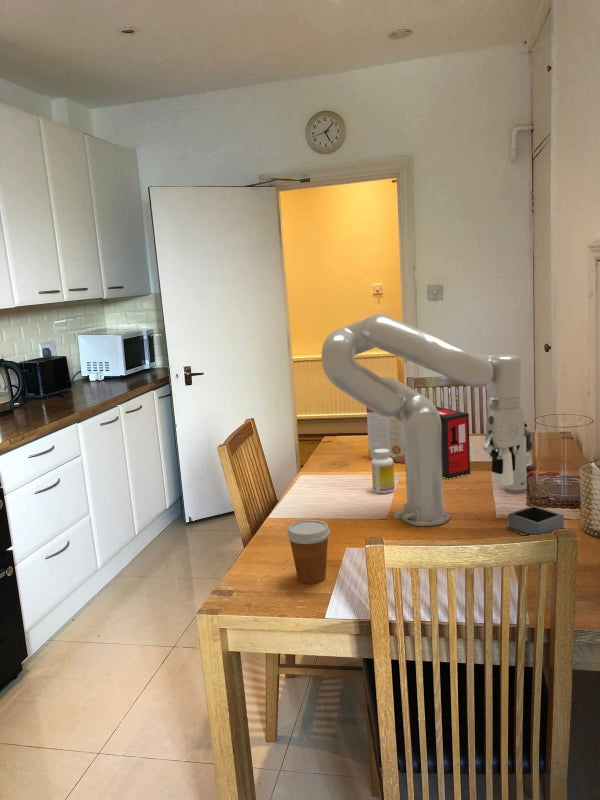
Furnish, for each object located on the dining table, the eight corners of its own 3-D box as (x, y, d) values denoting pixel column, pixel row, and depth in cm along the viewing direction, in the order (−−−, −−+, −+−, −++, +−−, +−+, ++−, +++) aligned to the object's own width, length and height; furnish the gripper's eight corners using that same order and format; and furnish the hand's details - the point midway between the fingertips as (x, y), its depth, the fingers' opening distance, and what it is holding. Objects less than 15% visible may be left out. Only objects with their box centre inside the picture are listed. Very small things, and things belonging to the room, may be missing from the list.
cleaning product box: (417, 467, 226) (414, 410, 222) (438, 463, 229) (436, 406, 226) (448, 479, 211) (446, 418, 207) (470, 474, 215) (468, 413, 211)
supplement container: (532, 473, 211) (532, 436, 209) (497, 472, 215) (497, 436, 213) (534, 464, 220) (533, 429, 218) (501, 463, 224) (500, 428, 222)
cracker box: (411, 459, 237) (409, 401, 233) (404, 463, 232) (402, 404, 228) (376, 455, 244) (373, 400, 240) (368, 460, 239) (365, 403, 235)
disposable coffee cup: (284, 585, 146) (279, 533, 144) (299, 566, 155) (295, 517, 153) (325, 589, 143) (321, 536, 140) (338, 570, 151) (335, 520, 149)
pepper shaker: (499, 487, 172) (500, 445, 170) (488, 481, 177) (489, 440, 175) (518, 484, 173) (519, 443, 171) (506, 478, 178) (507, 438, 176)
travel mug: (529, 493, 193) (528, 426, 189) (505, 493, 194) (504, 426, 191) (526, 486, 199) (525, 421, 195) (503, 486, 200) (502, 422, 197)
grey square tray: (538, 541, 159) (538, 524, 159) (506, 529, 168) (506, 513, 167) (566, 530, 164) (566, 515, 164) (533, 519, 173) (533, 504, 172)
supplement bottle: (399, 489, 204) (397, 449, 202) (386, 495, 200) (384, 454, 197) (381, 486, 209) (379, 446, 207) (368, 492, 204) (366, 451, 202)
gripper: (492, 409, 164) (491, 480, 167) (538, 400, 172) (536, 468, 175) (470, 404, 170) (469, 473, 173) (515, 396, 178) (514, 462, 182)
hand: (503, 470), depth 174 cm, fingers closed on pepper shaker, 3 cm apart
